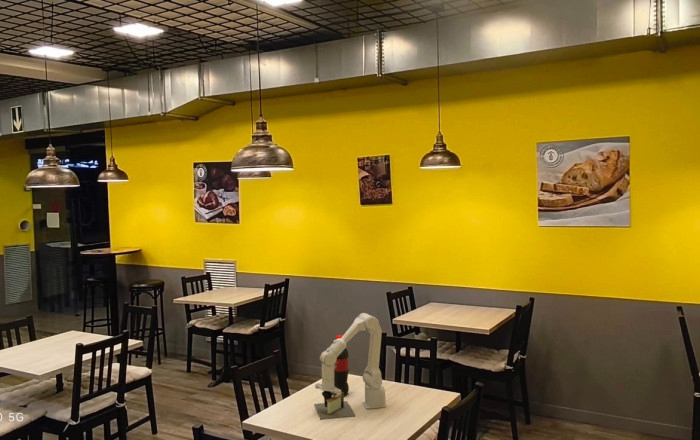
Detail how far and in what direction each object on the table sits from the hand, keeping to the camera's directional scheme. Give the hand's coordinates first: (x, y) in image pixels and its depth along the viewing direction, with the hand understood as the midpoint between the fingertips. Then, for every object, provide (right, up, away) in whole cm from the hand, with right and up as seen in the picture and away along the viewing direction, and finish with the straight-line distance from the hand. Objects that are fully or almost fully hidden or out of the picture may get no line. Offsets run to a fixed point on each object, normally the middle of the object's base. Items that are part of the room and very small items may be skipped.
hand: (328, 406), depth 252 cm
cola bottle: (+5, -2, +24) cm, 25 cm away
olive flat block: (+3, -2, +1) cm, 4 cm away
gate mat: (+3, -3, +3) cm, 5 cm away
